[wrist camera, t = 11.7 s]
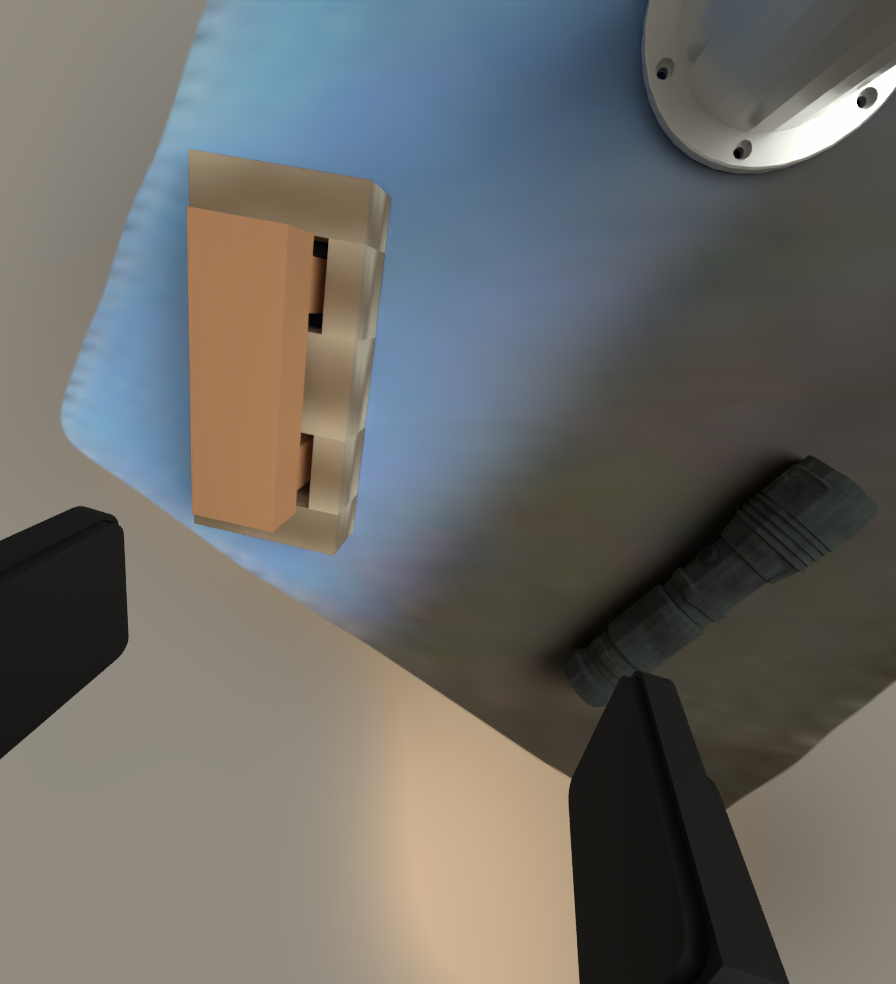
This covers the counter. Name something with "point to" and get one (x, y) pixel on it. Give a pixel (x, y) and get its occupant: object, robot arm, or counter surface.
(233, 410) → the tan wedge board
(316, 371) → the slotted tan block
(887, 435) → the counter surface
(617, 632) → the flashlight
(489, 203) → the counter surface
